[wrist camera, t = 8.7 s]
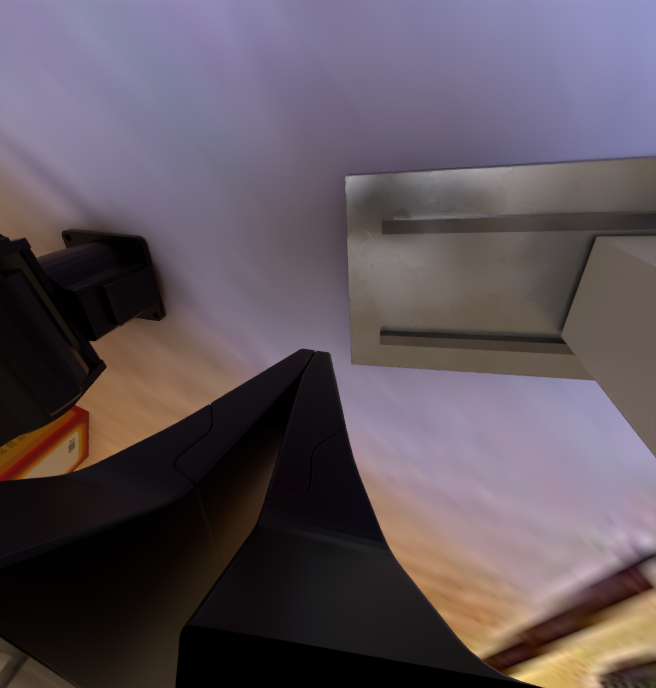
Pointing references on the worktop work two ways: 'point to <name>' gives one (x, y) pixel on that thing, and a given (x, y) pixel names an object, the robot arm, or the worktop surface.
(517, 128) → the worktop surface
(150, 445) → the robot arm
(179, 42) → the worktop surface
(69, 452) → the orange white cardboard box
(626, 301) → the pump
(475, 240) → the base
